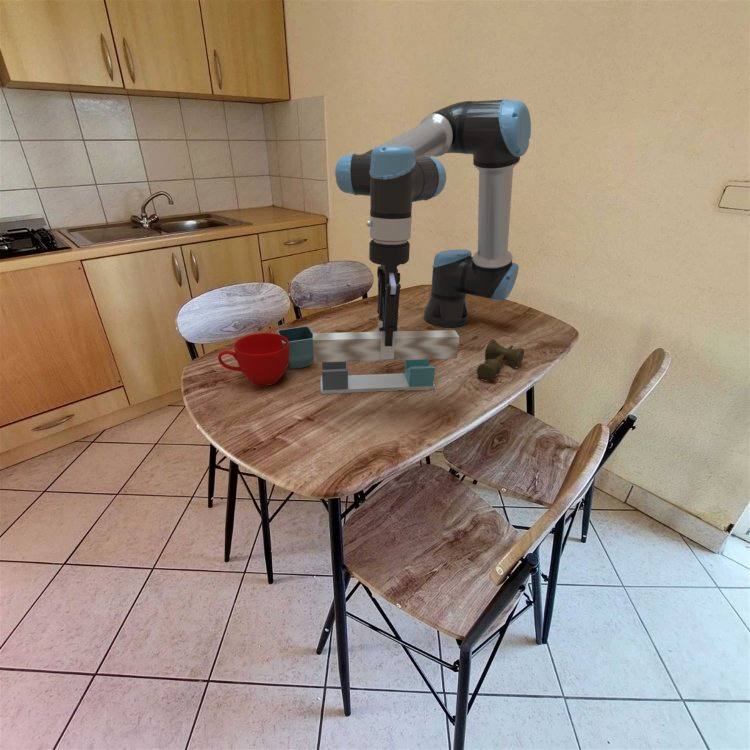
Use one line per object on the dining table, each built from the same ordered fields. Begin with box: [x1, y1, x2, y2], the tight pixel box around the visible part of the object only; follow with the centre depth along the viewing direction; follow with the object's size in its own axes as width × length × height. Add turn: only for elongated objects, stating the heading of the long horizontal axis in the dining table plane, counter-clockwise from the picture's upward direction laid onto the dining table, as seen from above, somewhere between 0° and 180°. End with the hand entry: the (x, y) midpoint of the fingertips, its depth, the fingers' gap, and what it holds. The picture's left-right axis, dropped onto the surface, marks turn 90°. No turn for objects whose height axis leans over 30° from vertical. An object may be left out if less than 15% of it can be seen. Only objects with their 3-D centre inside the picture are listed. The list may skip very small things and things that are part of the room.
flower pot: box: [276, 325, 314, 370], centre depth 115 cm, size 9×9×9 cm
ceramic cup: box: [217, 332, 289, 387], centre depth 107 cm, size 13×17×10 cm
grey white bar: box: [313, 329, 460, 364], centre depth 91 cm, size 30×4×5 cm, turn 96°
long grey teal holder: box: [320, 359, 436, 395], centre depth 107 cm, size 28×7×6 cm, turn 97°
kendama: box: [476, 338, 525, 382], centre depth 117 cm, size 6×10×20 cm
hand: (385, 353), depth 92 cm, fingers closed on grey white bar, 3 cm apart
